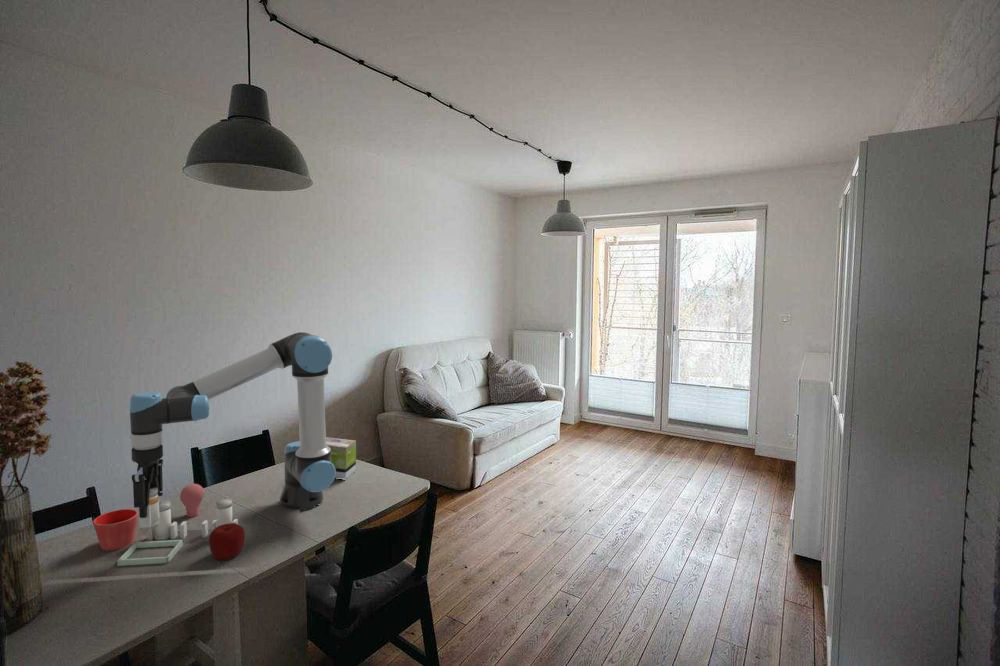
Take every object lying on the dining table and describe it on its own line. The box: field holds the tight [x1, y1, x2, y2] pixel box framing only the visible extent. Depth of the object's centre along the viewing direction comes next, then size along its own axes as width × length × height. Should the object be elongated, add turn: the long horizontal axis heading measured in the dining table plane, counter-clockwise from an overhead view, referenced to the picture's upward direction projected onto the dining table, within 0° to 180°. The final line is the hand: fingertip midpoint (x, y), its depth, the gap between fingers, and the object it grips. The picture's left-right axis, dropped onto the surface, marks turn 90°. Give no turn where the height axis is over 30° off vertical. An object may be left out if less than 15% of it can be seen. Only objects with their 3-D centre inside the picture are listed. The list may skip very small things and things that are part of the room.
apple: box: [208, 523, 246, 561], centre depth 153 cm, size 10×10×10 cm
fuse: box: [155, 500, 172, 541], centre depth 161 cm, size 4×4×11 cm
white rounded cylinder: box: [215, 498, 234, 527], centre depth 164 cm, size 4×4×11 cm
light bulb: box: [179, 483, 205, 518], centre depth 176 cm, size 7×7×12 cm
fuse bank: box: [144, 518, 239, 544], centre depth 163 cm, size 27×8×6 cm, turn 101°
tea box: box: [326, 436, 357, 478], centre depth 218 cm, size 15×10×15 cm, turn 80°
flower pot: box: [92, 508, 139, 551], centre depth 157 cm, size 11×11×10 cm
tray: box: [116, 540, 184, 567], centre depth 152 cm, size 13×10×2 cm
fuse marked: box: [139, 487, 159, 531], centre depth 150 cm, size 5×5×11 cm
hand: (149, 522), depth 151 cm, fingers closed on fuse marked, 4 cm apart
